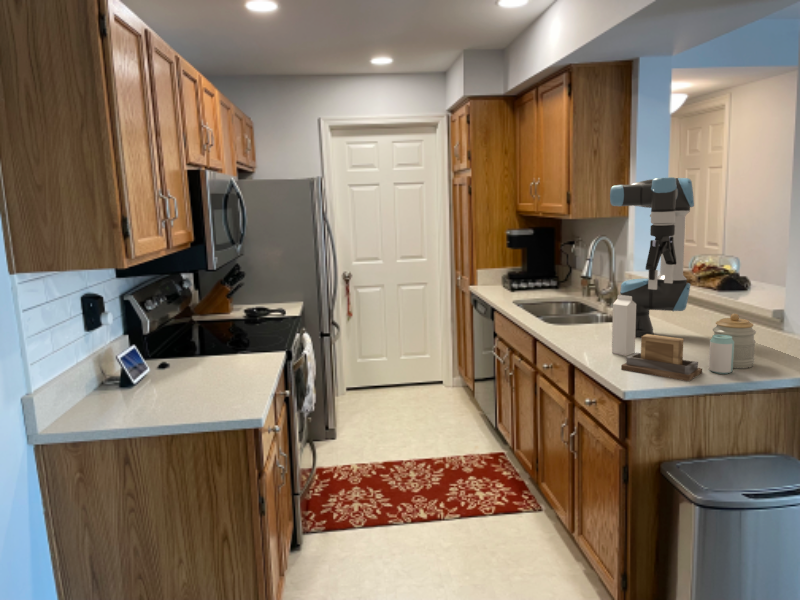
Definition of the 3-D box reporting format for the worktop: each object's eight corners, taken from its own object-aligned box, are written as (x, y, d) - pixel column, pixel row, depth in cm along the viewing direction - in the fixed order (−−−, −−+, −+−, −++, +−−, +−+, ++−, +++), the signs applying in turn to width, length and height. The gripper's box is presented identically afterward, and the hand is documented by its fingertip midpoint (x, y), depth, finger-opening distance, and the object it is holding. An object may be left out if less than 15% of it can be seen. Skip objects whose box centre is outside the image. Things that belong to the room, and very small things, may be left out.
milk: (625, 356, 219) (627, 297, 215) (611, 353, 224) (612, 295, 220) (635, 353, 223) (636, 295, 219) (620, 350, 228) (622, 293, 224)
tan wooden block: (646, 362, 205) (646, 334, 203) (682, 368, 196) (683, 338, 195) (640, 365, 201) (641, 336, 200) (676, 371, 193) (678, 341, 191)
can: (704, 371, 197) (706, 336, 195) (714, 367, 201) (716, 332, 199) (726, 376, 191) (728, 339, 189) (736, 371, 195) (738, 336, 193)
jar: (763, 366, 200) (766, 315, 197) (732, 370, 196) (735, 318, 193) (731, 357, 212) (734, 309, 209) (702, 361, 209) (704, 312, 206)
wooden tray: (636, 361, 211) (636, 351, 210) (702, 372, 195) (702, 361, 195) (621, 369, 202) (621, 358, 202) (688, 381, 187) (689, 369, 186)
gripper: (665, 221, 211) (663, 279, 215) (635, 227, 194) (634, 290, 198) (687, 221, 206) (685, 281, 210) (659, 227, 189) (657, 292, 193)
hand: (660, 286), depth 204 cm, fingers open, 13 cm apart
